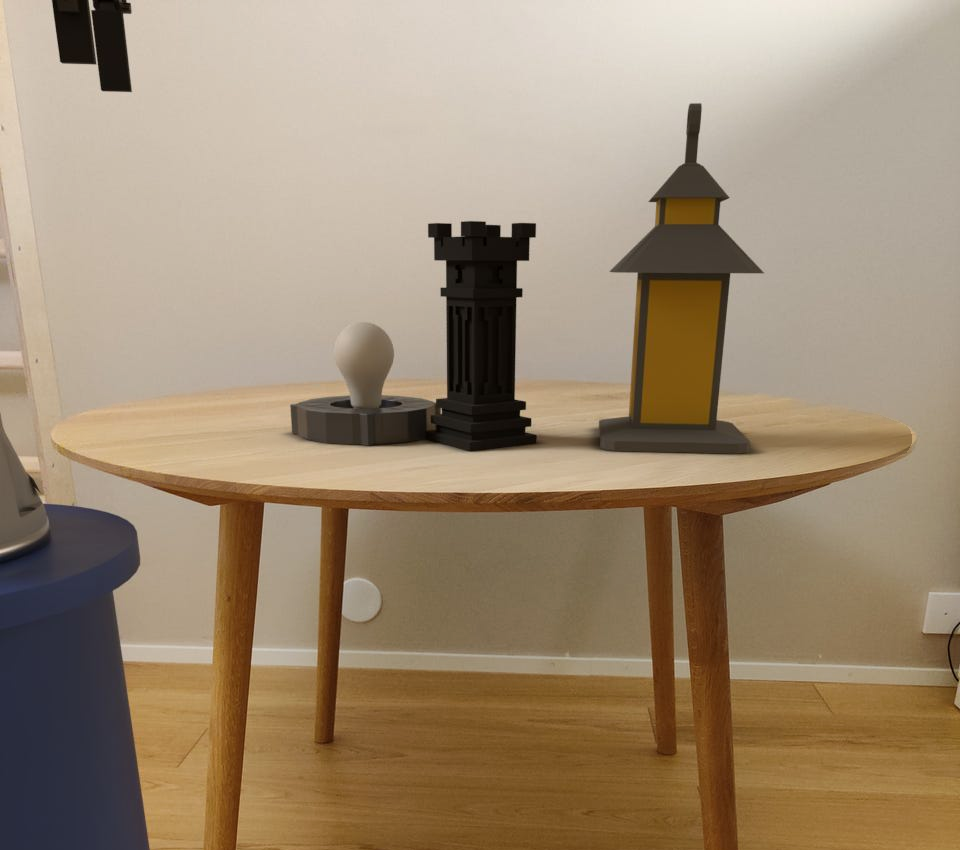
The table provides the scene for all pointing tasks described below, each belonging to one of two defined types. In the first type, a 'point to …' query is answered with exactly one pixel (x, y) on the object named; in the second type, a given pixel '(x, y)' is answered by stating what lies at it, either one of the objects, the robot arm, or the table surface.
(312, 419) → the hole plate
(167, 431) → the table surface
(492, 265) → the chess piece
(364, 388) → the lightbulb
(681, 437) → the lantern
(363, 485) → the table surface
